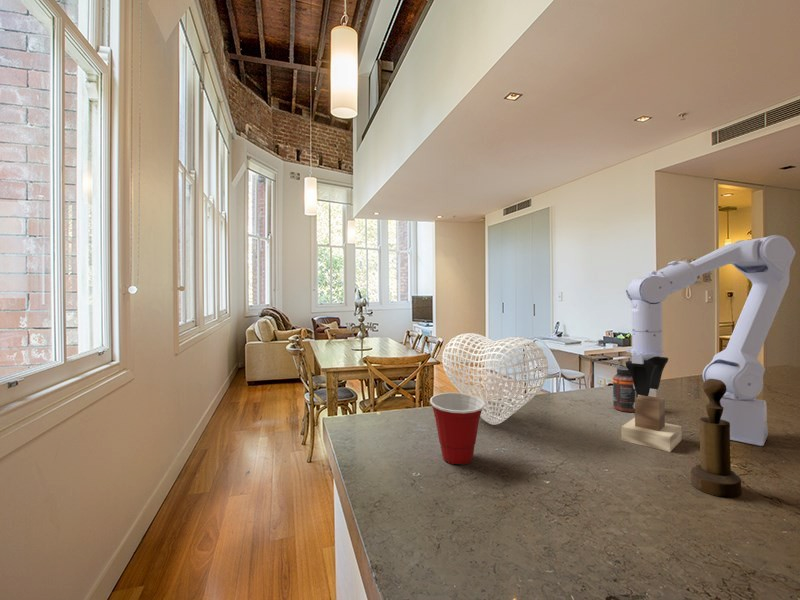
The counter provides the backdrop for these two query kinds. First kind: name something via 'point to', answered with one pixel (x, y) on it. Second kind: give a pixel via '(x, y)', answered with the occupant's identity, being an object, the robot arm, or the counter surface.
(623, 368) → the supplement bottle
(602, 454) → the counter surface
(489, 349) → the heart
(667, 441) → the birch base block
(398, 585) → the counter surface
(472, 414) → the plastic cup
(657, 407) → the walnut block
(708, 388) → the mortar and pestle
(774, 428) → the counter surface
